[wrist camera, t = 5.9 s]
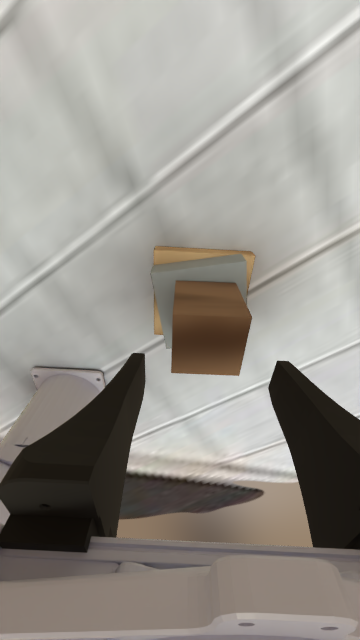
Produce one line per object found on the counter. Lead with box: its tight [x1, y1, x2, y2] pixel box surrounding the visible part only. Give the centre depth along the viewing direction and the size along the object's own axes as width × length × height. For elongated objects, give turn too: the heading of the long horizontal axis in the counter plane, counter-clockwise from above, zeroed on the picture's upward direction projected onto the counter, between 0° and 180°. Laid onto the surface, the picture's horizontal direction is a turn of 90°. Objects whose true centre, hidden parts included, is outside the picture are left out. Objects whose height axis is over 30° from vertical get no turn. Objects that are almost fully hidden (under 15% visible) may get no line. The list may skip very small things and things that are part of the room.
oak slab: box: [154, 246, 255, 335], centre depth 22 cm, size 8×8×2 cm
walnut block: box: [171, 281, 252, 376], centre depth 17 cm, size 4×4×5 cm
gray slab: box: [150, 254, 247, 349], centre depth 20 cm, size 7×7×2 cm
